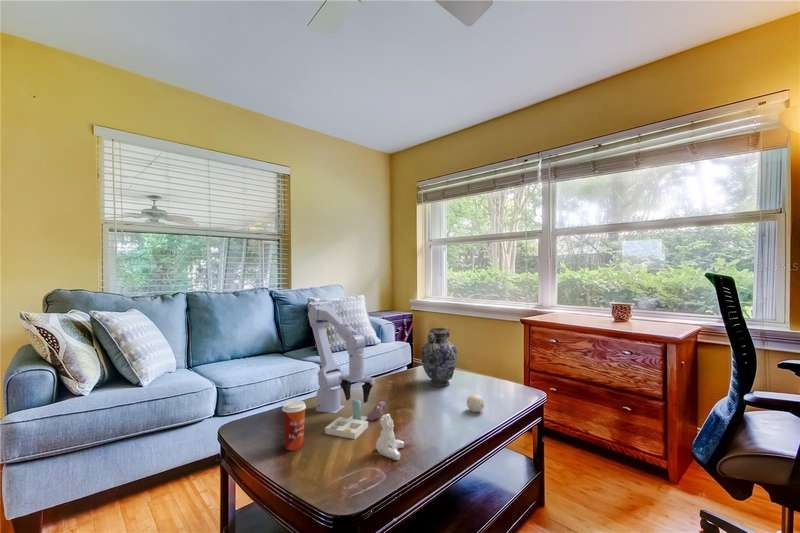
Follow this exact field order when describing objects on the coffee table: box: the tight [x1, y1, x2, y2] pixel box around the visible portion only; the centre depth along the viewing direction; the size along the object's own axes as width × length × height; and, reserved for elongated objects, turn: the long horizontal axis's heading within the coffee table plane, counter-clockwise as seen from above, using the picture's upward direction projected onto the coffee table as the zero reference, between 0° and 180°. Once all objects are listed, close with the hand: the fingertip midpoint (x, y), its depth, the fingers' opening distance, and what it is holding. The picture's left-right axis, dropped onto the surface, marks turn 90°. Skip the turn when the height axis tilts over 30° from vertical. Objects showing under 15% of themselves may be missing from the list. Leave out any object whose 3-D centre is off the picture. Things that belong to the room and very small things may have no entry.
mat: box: [349, 414, 368, 421], centre depth 136 cm, size 7×7×1 cm
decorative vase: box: [420, 327, 458, 388], centre depth 180 cm, size 21×19×28 cm
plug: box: [352, 399, 362, 420], centre depth 136 cm, size 3×3×7 cm
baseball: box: [466, 394, 485, 413], centre depth 143 cm, size 7×7×7 cm
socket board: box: [324, 416, 369, 440], centre depth 127 cm, size 12×10×3 cm
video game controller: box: [366, 400, 387, 421], centre depth 139 cm, size 10×5×7 cm, turn 169°
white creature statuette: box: [375, 413, 405, 461], centre depth 112 cm, size 10×9×12 cm
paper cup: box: [281, 399, 307, 451], centre depth 116 cm, size 8×8×14 cm
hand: (356, 400), depth 136 cm, fingers open, 7 cm apart
